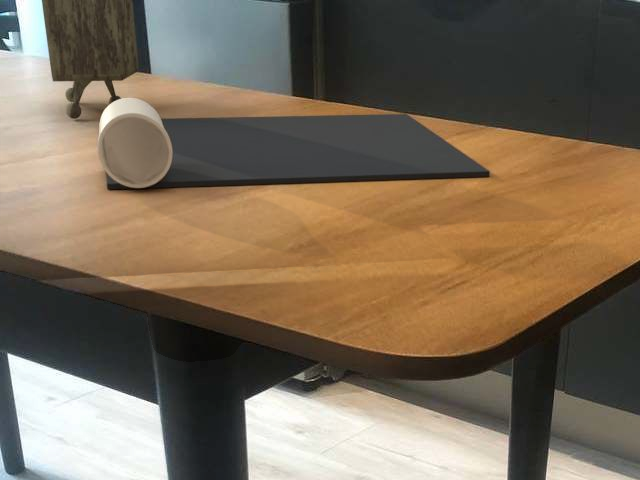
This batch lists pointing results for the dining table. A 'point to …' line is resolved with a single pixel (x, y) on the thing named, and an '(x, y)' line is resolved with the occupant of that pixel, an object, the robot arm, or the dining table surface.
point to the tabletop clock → (90, 44)
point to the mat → (306, 151)
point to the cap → (133, 143)
